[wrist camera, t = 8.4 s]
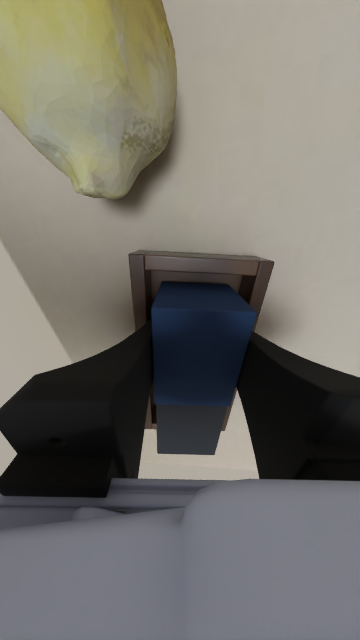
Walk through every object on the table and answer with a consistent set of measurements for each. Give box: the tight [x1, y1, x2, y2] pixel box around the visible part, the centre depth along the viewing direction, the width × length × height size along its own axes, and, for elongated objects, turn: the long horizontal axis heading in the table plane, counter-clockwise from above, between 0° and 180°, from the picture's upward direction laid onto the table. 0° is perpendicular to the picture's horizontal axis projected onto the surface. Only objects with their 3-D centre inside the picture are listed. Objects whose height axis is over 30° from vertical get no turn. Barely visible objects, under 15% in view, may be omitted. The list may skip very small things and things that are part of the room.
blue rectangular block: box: [151, 282, 257, 407], centre depth 10 cm, size 4×6×4 cm
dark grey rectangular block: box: [156, 404, 227, 455], centre depth 13 cm, size 4×6×4 cm
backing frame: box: [129, 250, 274, 431], centre depth 13 cm, size 8×15×2 cm, turn 177°
